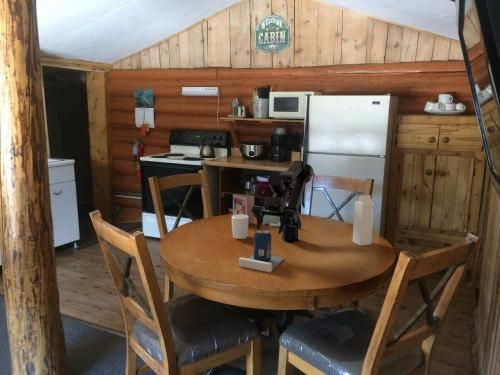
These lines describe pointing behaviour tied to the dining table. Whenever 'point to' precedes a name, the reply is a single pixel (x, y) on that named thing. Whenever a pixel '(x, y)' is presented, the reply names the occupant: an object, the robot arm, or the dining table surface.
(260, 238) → the soda can
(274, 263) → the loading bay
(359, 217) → the milk
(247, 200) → the pink printed box
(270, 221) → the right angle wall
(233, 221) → the white cup
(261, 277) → the dining table surface
